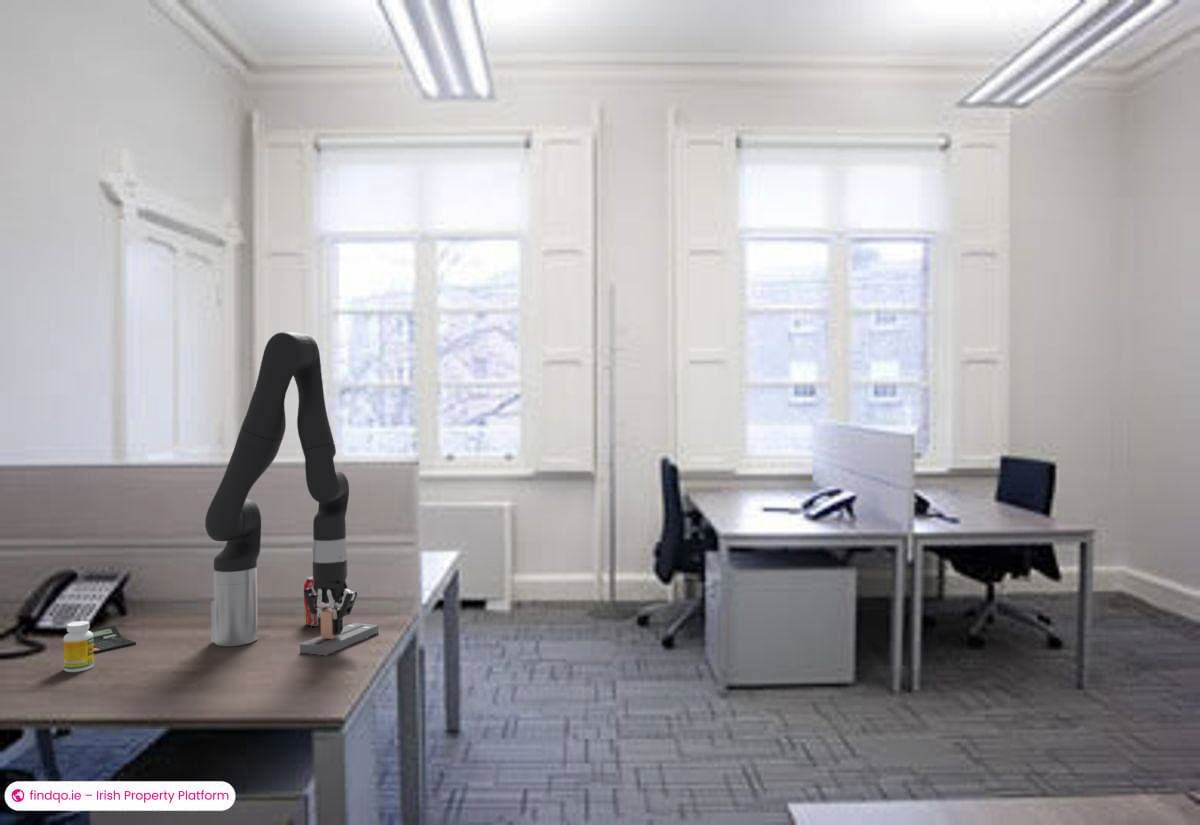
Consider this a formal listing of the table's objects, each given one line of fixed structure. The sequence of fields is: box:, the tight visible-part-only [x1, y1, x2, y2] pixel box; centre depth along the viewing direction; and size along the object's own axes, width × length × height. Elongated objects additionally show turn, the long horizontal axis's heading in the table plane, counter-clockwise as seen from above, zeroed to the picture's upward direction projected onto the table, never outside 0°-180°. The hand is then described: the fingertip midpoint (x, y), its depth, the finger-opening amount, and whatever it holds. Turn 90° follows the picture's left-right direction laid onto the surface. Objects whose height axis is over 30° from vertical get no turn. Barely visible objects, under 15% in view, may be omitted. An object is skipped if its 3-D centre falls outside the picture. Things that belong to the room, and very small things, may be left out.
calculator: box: [88, 624, 137, 655], centre depth 191 cm, size 9×12×3 cm
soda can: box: [303, 574, 330, 627], centre depth 208 cm, size 7×7×12 cm
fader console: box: [299, 622, 380, 656], centre depth 192 cm, size 7×19×2 cm, turn 159°
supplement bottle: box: [63, 620, 95, 673], centre depth 174 cm, size 5×5×10 cm
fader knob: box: [320, 608, 340, 639], centre depth 188 cm, size 3×3×6 cm
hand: (330, 633), depth 188 cm, fingers closed on fader knob, 3 cm apart
